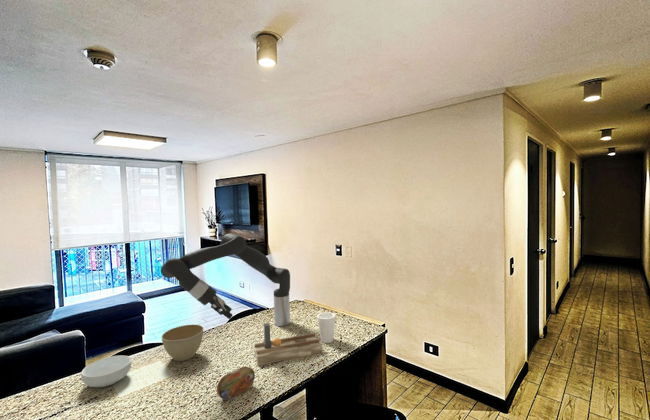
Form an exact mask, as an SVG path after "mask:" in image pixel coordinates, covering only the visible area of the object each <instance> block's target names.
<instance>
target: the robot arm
mask: <svg viewBox="0 0 650 420" xmlns="http://www.w3.org/2000/svg"><path fill="white" fill-rule="evenodd" d="M233 255H235V256H236V257H238V258H239V259H240V260H242V262H244V263H245V264H247V265H248V266H249V267H250V268H252V269H254V271H255V270H256V271H258V272H259V273H260V274H262V275H264V276H265V277H266V279H268V280H269V281H271V282H272V283H273V284H277V285H279V288H276V289H274V290H273V310H274V311H273V312H274V313H273V314H274V316H273V317H274V325H275V326H277V327H285V326H288V325H290V324H291V310H290V308H291V307H290V290H291V272H290V270H289V269H287V268H282V267H276V266H274V265H272V264H271V263H270V260H269V258H268V257H267V256H266V255H265V254H264V253H262V252H261V251H260V250H257V249H255V248H254V247H252V246H249V245H247V240H246V238H244V236H242V235H239V234H235V233H226V234H224V235H223V236H222V237H221V241H220V245H217V246H209V247H204V248H199V249H196V250H194V251H191V252H188V253H186V254H184V255H183V256H182V257H179V258H176V257H171V258H169V259H168V260H166V261H165V263H163V264H162V265H161V268H160V273H161V275H162V277H164V278H167V279H172V278H175V279H176V280H177V281H178V284H179V286H180V288H182V289H183V290H184V291H186V292H187V293H188V294H189V295H191V297H192V298H194V299H196V301H198V302H199V303H201V304H202V305H203V306H206V305H208V304H210V308H211V309H213V310H214V311H215V312H216V313H218V314H219V316H220V315H221V316H224V317H225V318H227V319H228V320H230V319H231V318H233V314H232V313H231V311H232V309H233V308H232V307H230V306H229V305H228V304H227V303H226V302H225V300H224V299H222V298H221V297H220V296H218V295H217V290H215V289H214V288H213V287H212V286H211V285H209V284H208V283H207V282H206V281H204V280H202V279H201V278H199V277H198V276H197V275H196V274H194V273H193V272H192V269H195V268H197V267H199V266H202V265H204V264H207V263H210V262H212V261H215V260H219V259H222V258H226V257H229V256H233Z"/></svg>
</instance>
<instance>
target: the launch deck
mask: <svg viewBox="0 0 650 420" xmlns="http://www.w3.org/2000/svg"><path fill="white" fill-rule="evenodd" d="M279 339H280V340H281V345H280V346H276V347H275V346H274V345H273V340H270V341H271V348H266V349H264V341H263V342H262V341H261V342H258V343H254V348H253V349H254V351H253V352H254V356H255V361H256V363H257V364H256V365H257V366H263V365H266V364H267V365H268V364H271V363H272V364H273V363H276V362H281V361H282V362H283V361H285V360H286V361H287V360H290V359H297V358H301V357H305V356H310V355H315V354H321V353H322V344H321V342H320V341H321V338H317V337H316V333H315V332H312V333H307V334H301V335H295V336H290V337H284V338H279Z"/></svg>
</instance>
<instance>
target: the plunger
mask: <svg viewBox="0 0 650 420" xmlns="http://www.w3.org/2000/svg"><path fill="white" fill-rule="evenodd" d="M271 341H272V340H271V325H270V323H269V322H265V323H263V342H264V349H266V348H271Z"/></svg>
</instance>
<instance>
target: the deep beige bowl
mask: <svg viewBox="0 0 650 420" xmlns="http://www.w3.org/2000/svg"><path fill="white" fill-rule="evenodd" d="M203 336H204V327H203V325H201V324H185V325H180V326H176V327H173V328H171V329H168V330H167V331H165V332H164V333H163V334H162V335H161V342H162V345H163V347H164V350H165V351H166V353H167V354H168V355H169V356H170V358H171V359H173V360H175V361H176V362H184V361H189V360H190V359H191V358H193V357H194V356H195V355H196V353H197V352H198V350H199V348H200V346H201V344H202V340H203V338H204V337H203Z"/></svg>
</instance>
